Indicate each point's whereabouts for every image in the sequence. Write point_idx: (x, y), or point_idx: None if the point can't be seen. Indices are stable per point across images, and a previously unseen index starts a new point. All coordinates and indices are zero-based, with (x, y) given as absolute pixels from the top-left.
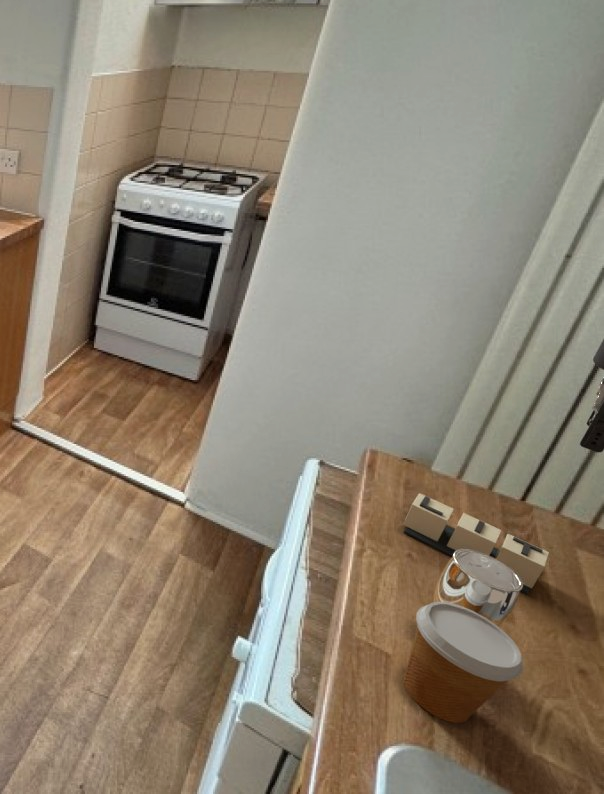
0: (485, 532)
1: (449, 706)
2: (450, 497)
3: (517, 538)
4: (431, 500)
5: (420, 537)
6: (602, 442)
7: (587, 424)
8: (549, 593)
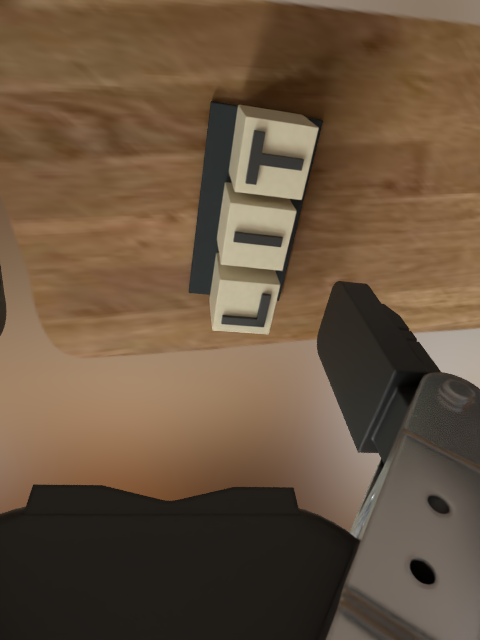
0: (267, 228)
1: None
2: (62, 248)
3: (248, 177)
4: (222, 312)
5: (279, 280)
6: (414, 341)
7: (3, 321)
8: (283, 80)
